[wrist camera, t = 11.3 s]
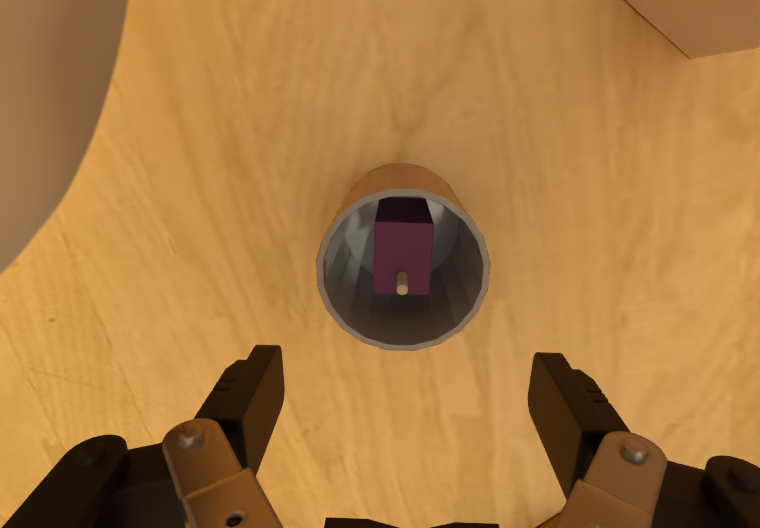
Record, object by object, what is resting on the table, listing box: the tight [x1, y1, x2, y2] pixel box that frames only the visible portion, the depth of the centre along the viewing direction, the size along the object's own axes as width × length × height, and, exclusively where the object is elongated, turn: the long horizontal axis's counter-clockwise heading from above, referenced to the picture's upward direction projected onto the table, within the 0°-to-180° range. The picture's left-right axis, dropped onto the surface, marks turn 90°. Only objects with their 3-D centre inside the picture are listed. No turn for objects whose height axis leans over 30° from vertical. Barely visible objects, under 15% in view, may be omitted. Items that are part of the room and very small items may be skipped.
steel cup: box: [316, 164, 490, 351], centre depth 27 cm, size 9×9×10 cm
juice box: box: [373, 197, 434, 295], centre depth 27 cm, size 4×3×9 cm
